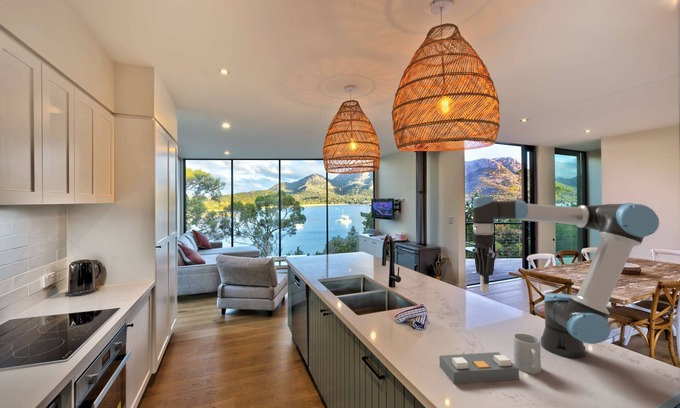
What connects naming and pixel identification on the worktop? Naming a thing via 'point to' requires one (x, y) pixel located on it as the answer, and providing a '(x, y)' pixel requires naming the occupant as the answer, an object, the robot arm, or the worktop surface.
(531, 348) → the mug
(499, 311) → the worktop surface
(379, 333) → the worktop surface
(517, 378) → the grey button panel
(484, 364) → the button orange
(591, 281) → the robot arm
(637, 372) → the worktop surface
